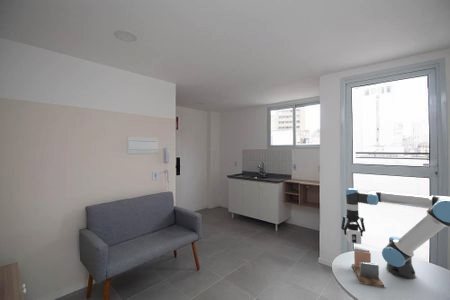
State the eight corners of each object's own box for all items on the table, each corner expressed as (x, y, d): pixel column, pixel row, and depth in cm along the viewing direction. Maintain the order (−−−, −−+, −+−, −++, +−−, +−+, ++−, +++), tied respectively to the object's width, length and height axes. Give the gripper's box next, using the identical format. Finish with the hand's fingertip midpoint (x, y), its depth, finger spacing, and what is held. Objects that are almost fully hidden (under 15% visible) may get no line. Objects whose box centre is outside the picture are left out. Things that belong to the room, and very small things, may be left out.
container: (361, 244, 146) (360, 226, 146) (349, 243, 147) (349, 225, 148) (356, 239, 153) (356, 222, 154) (345, 239, 155) (345, 222, 155)
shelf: (371, 268, 143) (371, 266, 143) (384, 287, 123) (384, 285, 123) (351, 265, 147) (351, 263, 147) (361, 284, 127) (361, 281, 127)
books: (369, 266, 143) (369, 250, 143) (370, 268, 141) (370, 251, 141) (354, 264, 146) (353, 248, 146) (355, 266, 143) (354, 249, 144)
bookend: (377, 277, 130) (377, 263, 131) (378, 279, 129) (378, 265, 129) (359, 275, 133) (359, 261, 134) (360, 276, 132) (360, 263, 132)
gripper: (366, 208, 151) (367, 239, 151) (335, 207, 158) (336, 236, 157) (370, 211, 144) (371, 243, 144) (338, 209, 151) (338, 240, 150)
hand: (353, 239), depth 150 cm, fingers closed on container, 8 cm apart
